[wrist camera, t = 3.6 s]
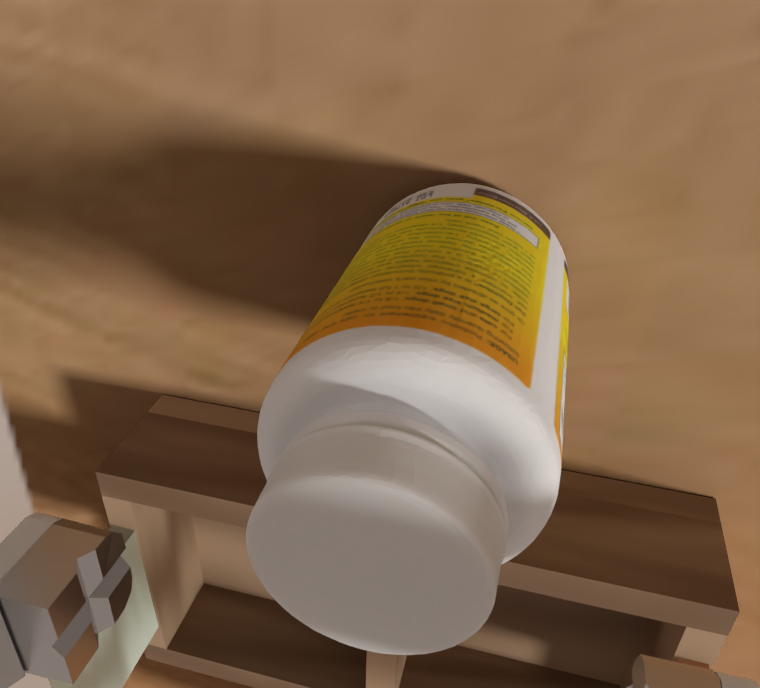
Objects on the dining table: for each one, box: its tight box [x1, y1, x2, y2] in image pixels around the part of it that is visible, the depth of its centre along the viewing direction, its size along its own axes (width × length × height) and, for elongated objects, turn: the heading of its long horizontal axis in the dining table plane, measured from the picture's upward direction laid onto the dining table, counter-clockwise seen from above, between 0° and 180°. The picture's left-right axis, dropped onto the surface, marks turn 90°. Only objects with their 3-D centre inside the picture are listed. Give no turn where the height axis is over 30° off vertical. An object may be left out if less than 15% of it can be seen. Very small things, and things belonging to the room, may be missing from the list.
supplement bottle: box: [246, 183, 570, 655], centre depth 15 cm, size 6×6×10 cm
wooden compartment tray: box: [48, 395, 739, 688], centre depth 22 cm, size 10×18×8 cm, turn 88°
